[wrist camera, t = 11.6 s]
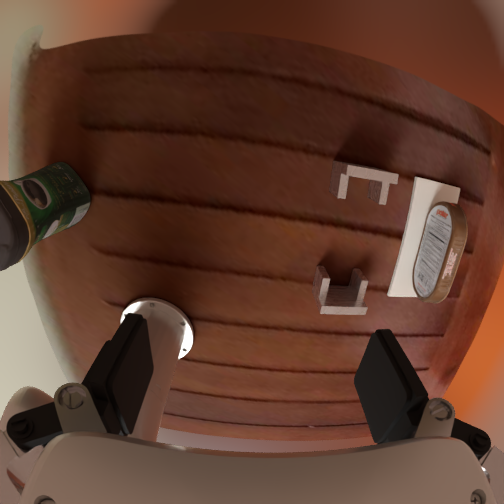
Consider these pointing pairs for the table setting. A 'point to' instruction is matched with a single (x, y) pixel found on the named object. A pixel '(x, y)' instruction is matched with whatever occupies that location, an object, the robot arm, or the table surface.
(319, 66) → the table surface
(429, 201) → the mat
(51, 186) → the coffee jar
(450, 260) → the tin
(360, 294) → the end brackets
